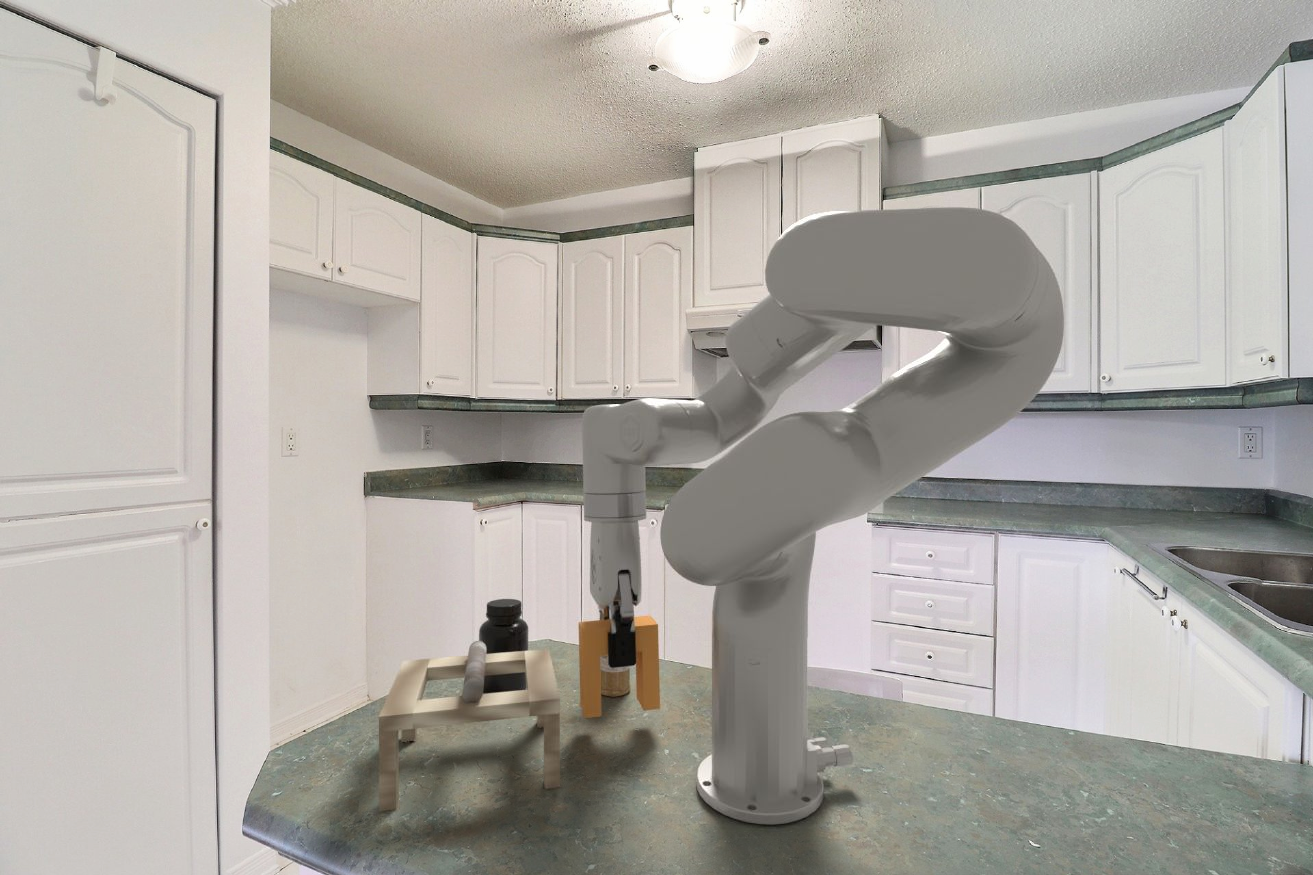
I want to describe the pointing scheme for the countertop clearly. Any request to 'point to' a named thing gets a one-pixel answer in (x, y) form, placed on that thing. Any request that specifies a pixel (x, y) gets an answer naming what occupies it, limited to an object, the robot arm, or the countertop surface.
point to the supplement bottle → (504, 641)
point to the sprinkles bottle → (613, 676)
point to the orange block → (596, 645)
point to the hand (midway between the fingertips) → (618, 657)
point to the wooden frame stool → (467, 706)
